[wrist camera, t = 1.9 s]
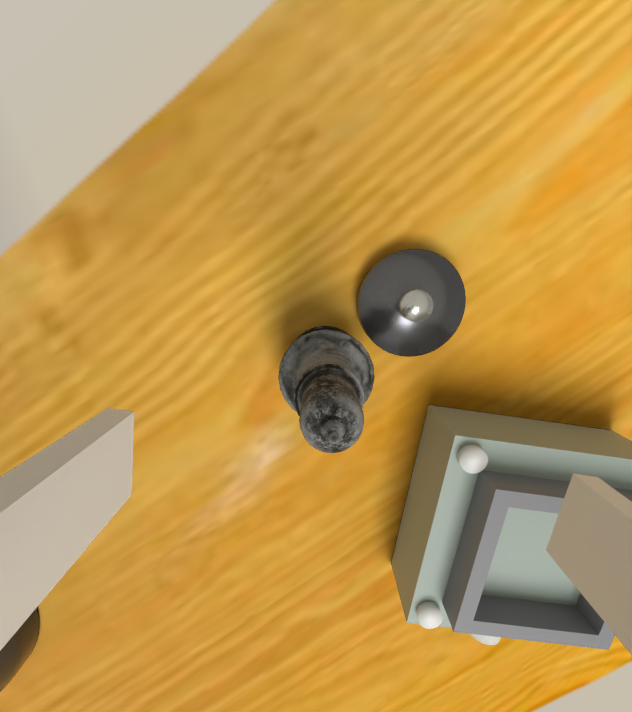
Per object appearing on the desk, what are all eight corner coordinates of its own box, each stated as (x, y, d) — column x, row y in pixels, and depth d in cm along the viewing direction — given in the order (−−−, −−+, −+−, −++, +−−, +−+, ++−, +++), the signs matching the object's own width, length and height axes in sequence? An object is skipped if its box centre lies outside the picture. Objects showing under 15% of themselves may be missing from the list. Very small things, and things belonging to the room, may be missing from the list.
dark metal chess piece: (367, 321, 24) (416, 365, 13) (364, 401, 26) (407, 508, 14) (282, 321, 24) (253, 365, 13) (284, 402, 26) (259, 508, 14)
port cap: (349, 345, 25) (352, 352, 23) (367, 242, 23) (372, 239, 21) (446, 359, 25) (458, 367, 23) (470, 258, 23) (486, 257, 21)
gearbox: (385, 587, 29) (407, 682, 23) (428, 404, 26) (469, 451, 19) (546, 607, 30) (615, 705, 23) (611, 430, 26) (715, 485, 20)
